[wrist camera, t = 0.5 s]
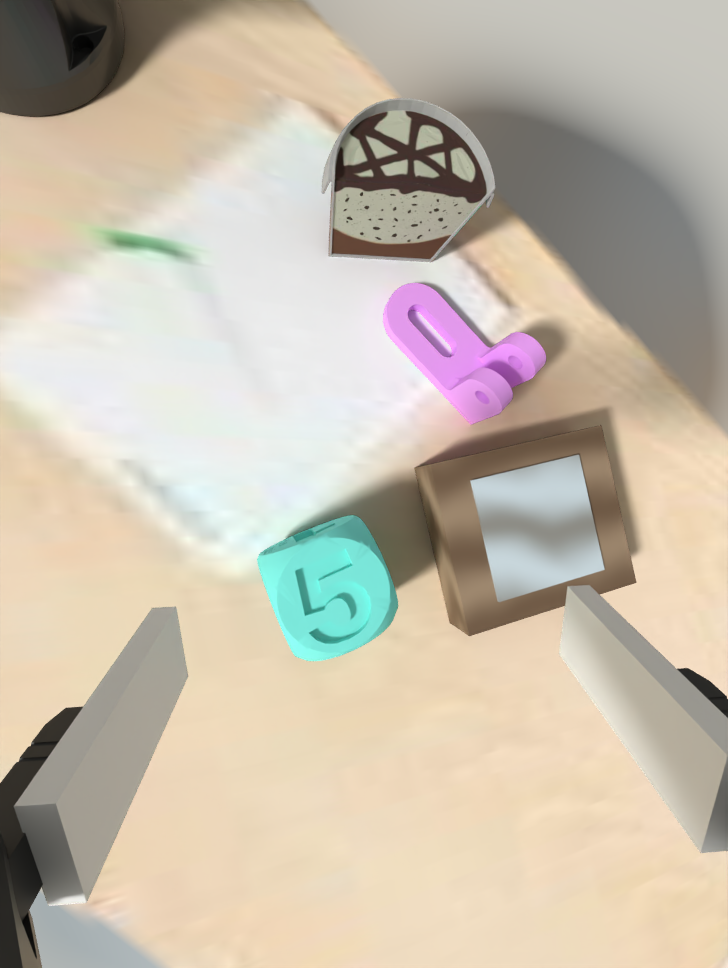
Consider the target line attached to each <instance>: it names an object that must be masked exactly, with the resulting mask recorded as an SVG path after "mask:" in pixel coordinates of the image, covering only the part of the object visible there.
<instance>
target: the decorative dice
mask: <svg viewBox="0 0 728 968" xmlns="http://www.w3.org/2000/svg"><path fill="white" fill-rule="evenodd" d="M257 561H258V566H259V569H260V573H261V576H262V579H263V582H264V585H265V588H266V591H267V593H268V596H269V599H270V602H271V604H272V607H273V609H274V612H275V614H276V617H277V619H278V622H279V624H280V626H281V629H282V631H283V633H284V636H285V638H286V640H287V642H288V644H289V646H290V648H291V650H292V652H293V654H294V655H295V656H296V657H298V658H301V659H304V660H307V661H321V660H326V659H331V658H334V657H338V656H340V655H343V654H346V653H348V652H351V651H353V650H355V649H357V648H359V647H361V646H363V645H365V644H366V643H368V642H370V641H371V640H373V639H374V638H376V637H377V636H379V635H380V634H381V633H382V632H383V631H385V630H386V629H387V628H388V626H389V625H390V624H391V622H392V621H393V619H394V616H395V613H396V611H397V608H398V599H397V595H396V591H395V588H394V584H393V581H392V579H391V576H390V573H389V571H388V568H387V566H386V563H385V561H384V559H383V556H382V554H381V552H380V550H379V548H378V546H377V544H376V542H375V540H374V538H373V536H372V535H371V533H370V531H369V529H368V528H367V526H366V525H365V523H364V522H363V521H362V520H361V519H360V518H359V517H357V516H355V515H349V516H345V517H341V518H338V519H335V520H332V521H329V522H326V523H323V524H320V525H318V526H315V527H313V528H310V529H308V530H305V531H303V532H300V533H298V534H296V535H294V536H291V537H289V538H287V539H285V540H283V541H281V542H279V543H277V544H275V545H273V546H271V547H269V548H267V549H266V550H264V551H263V552H261V553H260V554H259V556H258V559H257Z"/></svg>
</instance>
